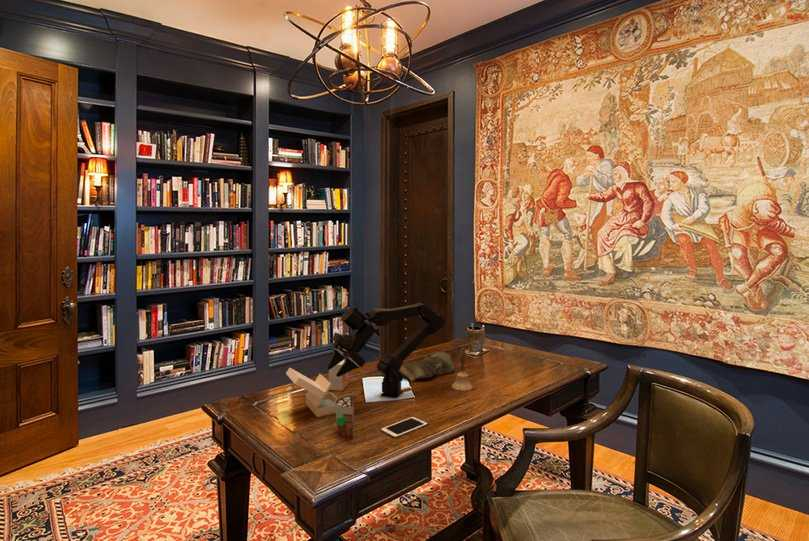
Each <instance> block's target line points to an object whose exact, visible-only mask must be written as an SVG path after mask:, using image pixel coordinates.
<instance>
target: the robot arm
mask: <svg viewBox="0 0 809 541" xmlns="http://www.w3.org/2000/svg"><path fill="white" fill-rule="evenodd" d="M414 316H419V317H420V318H421V319H422V320H421V322H420V325H419V327H418V328H417V330H415V331H414V332H413V333H412V334H411V335H410V336H409V337H408V338H407V339H406V340H405V341H404V342H403V343H402V344H401V345H400V346H399V347H398V348H397V349H396V350H395V351H394V352H392V353H389V352H388V351H387V352H385V353H384V355H383V356H382V357H380V358H379V359H378V360H379V361H378V362H377V363H376V368H377V369H376V370H377V372H378V373H380V375H381V377H383V378H382V382H381V394H380V396H382V397H387V398H393V399H397V398H398V397H400V396H401V395H402V394H403V393H404V392H403V390H402V381H403V380H404V377H405V375H403V374H402V373H401V372H399V370H400V369H401V366H402V364H404V363H403V362H404V361H405V360H406V359H407V358H408V357H409V356H410V355H411V354H412V353H414V351H415V350H416V349H417V348H418V347H419V346H420V345H421V344H422V343H423V342H424V341H425V340H426V339H427V338H428V337H429V336H431V335H434V334H436V333H438V332H439V331H441V330H442V329H443V328H444V327H445V324H446V323H445V322H446V321H445V318H444V316H442V315H441V314H438V313H436V311H433V310H432V309H431V308H429V307H428V306H427V305H426V304H423V303H421V302H417V303H415V304H410V305H409V304H408V305H404V306H399V307H394V308H393V307H392V308H378V307H377V308H374V307H373V308H372V309H370V310H369V311H367V312H365V313H362V312H360V311H359V309H358V308H357V307H356V306H352V307H351V308H349V309H347V310H346V311H344V312H343V313H342V315H341V317H340V321H341V322H342V323H343V324H344V325H346V326H347V327H348V328H349V329H350V330H351V331H355V332H354V333H353V334H352V333H350V334H345V333H343V334H342V333H338V332H334V333H333V336H332V338H331V341H332V342H333V343H332V344H331V346H332V347H331V349H332V356H331V358H330V361H329V363H328V365H327V370H328V371H329V370H330V369H332V368H333V367H334V366H336V365H337V364H339V363H340V362H341V361H343V360H344V359H345V361H344V363H343V365H342V366H341V368H340V369H339V371H338V373H337V374H336V376H337V377H340V376H342V375H344V374H346V373H347V372H348V373H350V372H351V371H354V370H356V369H359V368H362V367H363V366H364V365H365V363H366V360H365V358H364V357H362V356H361V355H360V354H359V353H360V352H362V349H366V348H367V347H368V346H367V345H366V344H367V343H368V342H369V341H370V340H371V338H373V336H374V335H375V336H377V337H380V336H381V333H380V328H379V327H384V326H386V325H388V324H390V323H391V322H394V321H396V320H401V319H405V318H409V317H414ZM374 325H375V326H377V327H375V326H374Z"/></svg>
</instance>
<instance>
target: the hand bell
mask: <svg viewBox="0 0 809 541" xmlns="http://www.w3.org/2000/svg"><path fill="white" fill-rule="evenodd" d="M466 359H467V352H466V349H465V347H461V348H460V351H459V363H460V369H459V370H460V372H457V373H456V379H455V381H454V382H453V383H452V384H451V389H453V390H456V391H459V392H460V391H461V392H468V391H471V390H473V388H474V386H473V385H472V384H471V382H470V378H469V374H468V373H467V372H466V368H465V367H466V366H465V365H466V361H467V360H466Z"/></svg>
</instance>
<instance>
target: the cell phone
mask: <svg viewBox="0 0 809 541" xmlns="http://www.w3.org/2000/svg"><path fill="white" fill-rule="evenodd" d="M426 425H428V426H429V423H428V421H425V420H423V419H421V418H419V417H417V416H409V417H407V418H404V419H402V420H398V421H397V422H394V423H391V424H388V425H386V426H383V427H381V428H380V429H379V430H380V431H379V432H380V433H383V434H384V435H387V437H390V438H392V439H394V438H396V439H399V438H402V437H404V436H406V435H409V434H411V433H413V431H414V432H416V431H417V429H419V430H420V428H421V429H423V428H425V427H424V426H426ZM422 427H423V428H422ZM426 427H427V426H426ZM415 430H416V431H415ZM410 432H411V433H410ZM408 433H409V434H408ZM403 435H404V436H403ZM401 436H402V437H401ZM398 437H399V438H398Z"/></svg>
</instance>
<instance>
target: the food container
mask: <svg viewBox="0 0 809 541" xmlns="http://www.w3.org/2000/svg"><path fill="white" fill-rule="evenodd" d="M354 397H355V396H354V393H345V394H343V395H340V396H338V397H337V398H336V400H335V402H334V406H333V409H334V410H335V411H336V414H335V417H336V426H337V428H336V430H337V434H338V435H339V436H341V437H344V438H348V439H349V438H354V432H355V410H354V409H355V408H354V406H355V405H354V402H355V401H354Z"/></svg>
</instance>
